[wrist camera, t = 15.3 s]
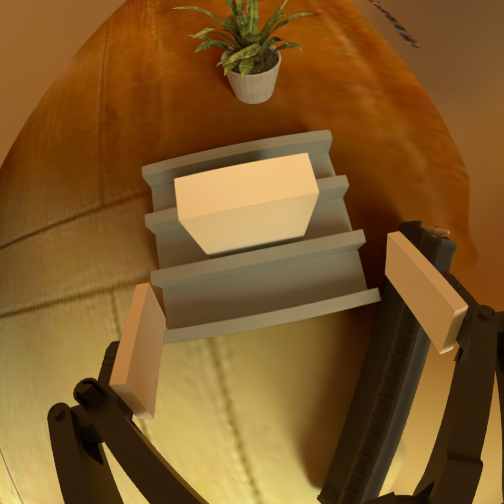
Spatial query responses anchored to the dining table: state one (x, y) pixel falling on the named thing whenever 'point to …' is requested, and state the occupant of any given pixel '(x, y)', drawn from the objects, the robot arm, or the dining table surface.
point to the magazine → (384, 384)
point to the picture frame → (248, 205)
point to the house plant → (248, 50)
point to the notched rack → (259, 261)
